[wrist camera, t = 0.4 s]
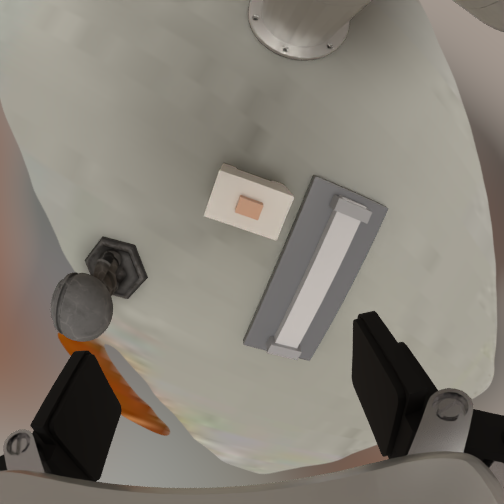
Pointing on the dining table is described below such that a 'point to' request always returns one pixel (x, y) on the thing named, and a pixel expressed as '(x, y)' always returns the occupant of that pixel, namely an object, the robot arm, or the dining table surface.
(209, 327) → the dining table surface
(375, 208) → the rail plate
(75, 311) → the figurine
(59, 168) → the dining table surface
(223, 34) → the dining table surface
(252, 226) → the block
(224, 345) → the dining table surface
